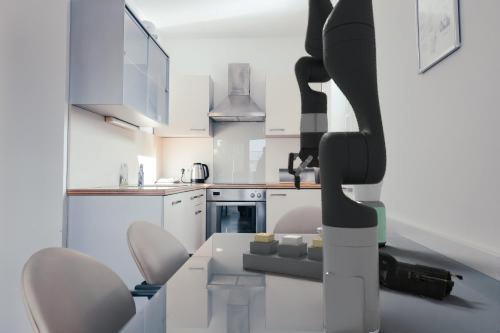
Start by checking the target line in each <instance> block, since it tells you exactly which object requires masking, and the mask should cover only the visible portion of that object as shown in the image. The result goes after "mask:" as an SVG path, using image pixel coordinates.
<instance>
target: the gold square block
mask: <svg viewBox="0 0 500 333" xmlns="http://www.w3.org/2000/svg"><path fill="white" fill-rule="evenodd" d="M253 236H254V240H255V242H261V243H270V242H273V241H274V240H275V233H270V232H269V233H268V232H259V233H255V234H254V235H253Z"/></svg>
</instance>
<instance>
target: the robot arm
mask: <svg viewBox="0 0 500 333" xmlns="http://www.w3.org/2000/svg"><path fill="white" fill-rule="evenodd" d="M307 3H308V4H307V5H308V7H307V9H308V10H307V12H308V13H307V24H306V29H305V30H306V31H305V32H306V33H305V38H304V49H305V52H306V53H307V54H308V55H303V56H299V57H298V58H297V59H296V61H295V64H294V67H293V68H294V69H293V70H294V75H295V78H296V79H295V80H296V81H297V85H298V89H299V93H300V94H299V95H300V103H301V104H300V114H301V115H300V122H299V135H300V136H299V152H292V151H289V152H288V158H287V159H288V160H287V161H288V162H287V173H288V174H289V175H292V176H293V177H294V178H293V184H294V185H293V186H294V188H296V190H297V191H300V190H301V176H300V175H301V174H302V172H303V171H304V170H305V169H306V168H309V169H314V168H315V169H316V168H318V169H319V177H320V178H319V179H320V181H319V182H320V196H321V197H320V198H321V200H320V201H321V204H320V205H321V227H322V252H323V279H322V300H323V301H322V302H323V307H322V308H323V326H324V327H325V333H369V332H374V331H376V330H378V329H379V328H380V329H381V303H380V302H381V301H380V300H381V298H380V297H381V295H380V283H379V255H378V251H379V246H378V215H377V211H376V210H375V209H374V208H373V207H370V206H367V205H364V204H361V203H358V202H356V200H355V199H354V200H353V199H351V197H349V196H348V195H346V194H345V192H344V191H343V186H353V185H368V184H378V183H380V182H381V181H382V180H383V181H384V178H385V175H386V172H387V146H386V139H385V131H384V125H383V119H382V112H381V105H380V96H379V87H378V86H379V85H378V71H377V42H376V40H377V39H376V28H375V27H376V26H375V20H374V9H373V0H338V1H337V3H336V4H335V5H333V3H332V1H331V0H307ZM331 80H332V81H333V82H334V84H335V85H336V87H337V88H338V90H339V91H340V92H341V93H342V95H343V96H344V97H345V98H346V100H347V101H348V103H349V105H350V107H351V109H352V110H353V113H354V116H355V119H356V122H357V127H358V131H329V121H328V95H327V93H326V92H324V91H320V90H315V89H314V88H311V86H310V85H309V84H324V83H325V84H326V83H328V82H330V81H331ZM297 158H298V159H300V161H301V162H300V163H299V165H298V167H296V169H295V170H294V161H296V160H297Z"/></svg>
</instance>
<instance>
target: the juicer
mask: <svg viewBox="0 0 500 333" xmlns="http://www.w3.org/2000/svg"><path fill="white" fill-rule="evenodd" d="M383 184H384V179H383V180H382V181H381V182H380V183H378V184H368V185H352V190H353V195H354V201H356V202H358V203H361V204H364V205H367V206H370V207H373V208H374V209H375V210H376V211H377V215H378V247H380V246H381V245H385V244H387V241H388V240H387V238H388V236H387V213H386V212H387V209H386V206H385V204H384V202H382V201H380V200H381V193H382V187H383Z"/></svg>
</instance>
